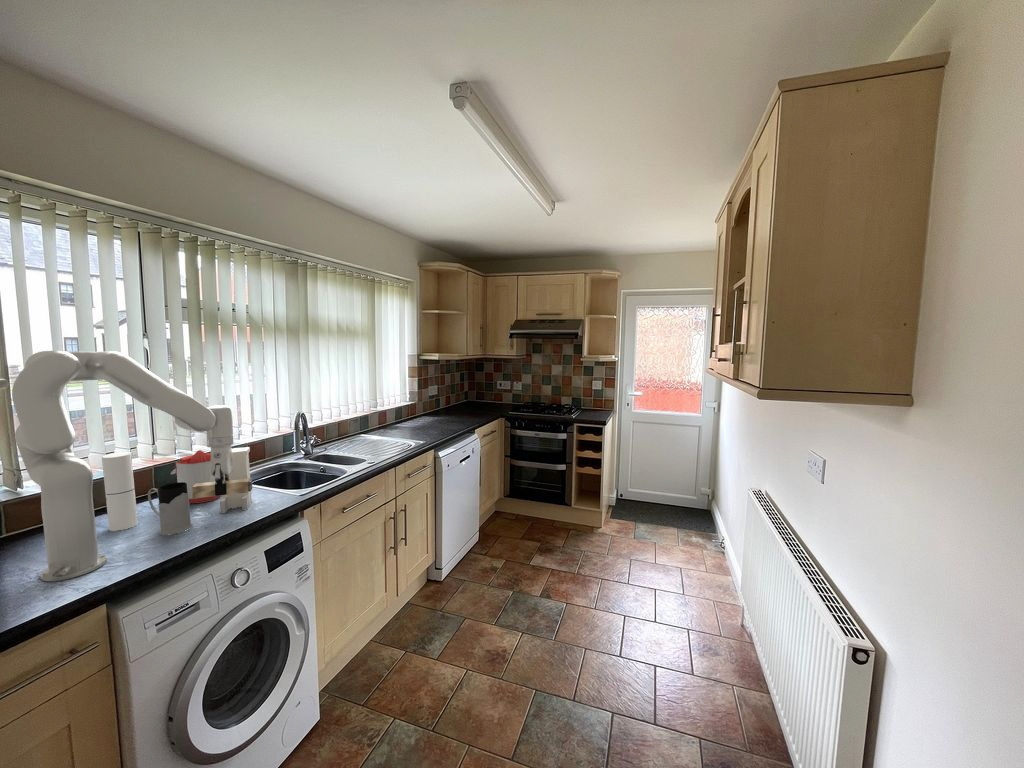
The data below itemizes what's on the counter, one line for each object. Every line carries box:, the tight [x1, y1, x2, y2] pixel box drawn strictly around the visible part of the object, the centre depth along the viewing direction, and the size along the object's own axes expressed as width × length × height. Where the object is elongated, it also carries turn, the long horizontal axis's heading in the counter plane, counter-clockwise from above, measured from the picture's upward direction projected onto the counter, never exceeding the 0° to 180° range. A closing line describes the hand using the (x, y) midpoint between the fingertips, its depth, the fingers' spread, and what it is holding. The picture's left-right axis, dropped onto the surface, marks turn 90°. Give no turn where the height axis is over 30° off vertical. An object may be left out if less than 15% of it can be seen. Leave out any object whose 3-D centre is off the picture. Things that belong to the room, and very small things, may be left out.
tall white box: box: [219, 446, 253, 514], centre depth 157 cm, size 10×9×22 cm
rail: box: [192, 477, 253, 498], centre depth 145 cm, size 17×4×4 cm, turn 114°
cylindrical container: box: [101, 451, 138, 532], centre depth 140 cm, size 7×7×25 cm
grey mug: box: [147, 482, 194, 536], centre depth 139 cm, size 9×14×15 cm, turn 80°
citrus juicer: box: [170, 450, 221, 504], centre depth 166 cm, size 16×17×20 cm
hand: (222, 492), depth 145 cm, fingers closed on rail, 4 cm apart
